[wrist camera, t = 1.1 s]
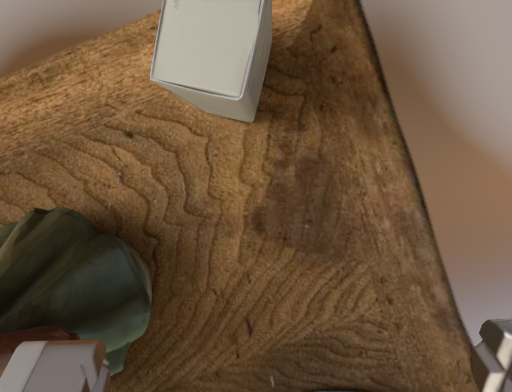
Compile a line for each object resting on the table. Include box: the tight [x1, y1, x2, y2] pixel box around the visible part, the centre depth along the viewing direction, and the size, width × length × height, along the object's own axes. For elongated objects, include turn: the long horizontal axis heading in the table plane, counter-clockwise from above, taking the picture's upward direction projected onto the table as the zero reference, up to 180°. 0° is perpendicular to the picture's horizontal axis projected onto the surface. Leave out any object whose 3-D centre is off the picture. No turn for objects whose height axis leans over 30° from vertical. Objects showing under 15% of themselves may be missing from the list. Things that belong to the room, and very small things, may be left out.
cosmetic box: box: [150, 0, 272, 122], centre depth 24 cm, size 6×4×12 cm
